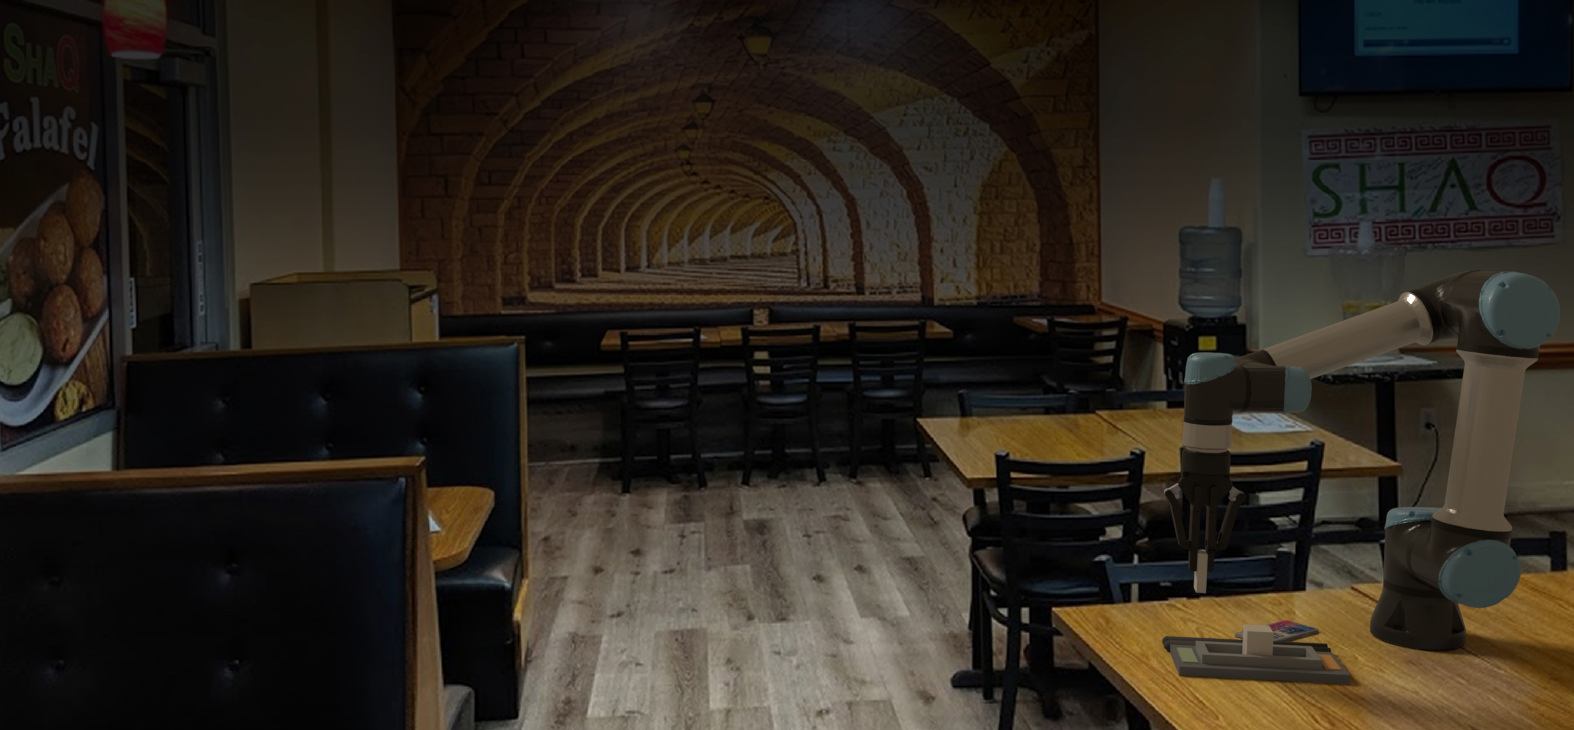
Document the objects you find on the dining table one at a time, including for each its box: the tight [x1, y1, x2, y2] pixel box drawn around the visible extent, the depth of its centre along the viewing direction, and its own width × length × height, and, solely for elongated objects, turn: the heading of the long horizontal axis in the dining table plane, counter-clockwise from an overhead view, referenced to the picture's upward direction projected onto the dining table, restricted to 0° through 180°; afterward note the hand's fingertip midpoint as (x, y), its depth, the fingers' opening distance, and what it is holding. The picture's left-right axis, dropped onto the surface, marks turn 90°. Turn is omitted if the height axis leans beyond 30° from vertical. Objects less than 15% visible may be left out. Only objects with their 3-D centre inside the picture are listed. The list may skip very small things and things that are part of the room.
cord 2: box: [1163, 640, 1332, 652], centre depth 215 cm, size 27×2×2 cm, turn 81°
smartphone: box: [1233, 619, 1319, 642], centre depth 226 cm, size 7×1×15 cm
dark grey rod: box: [1161, 635, 1329, 648], centre depth 217 cm, size 27×2×2 cm, turn 81°
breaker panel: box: [1169, 641, 1351, 685], centre depth 208 cm, size 26×11×3 cm, turn 81°
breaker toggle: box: [1242, 624, 1273, 656], centre depth 208 cm, size 4×4×5 cm
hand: (1199, 590), depth 208 cm, fingers closed
